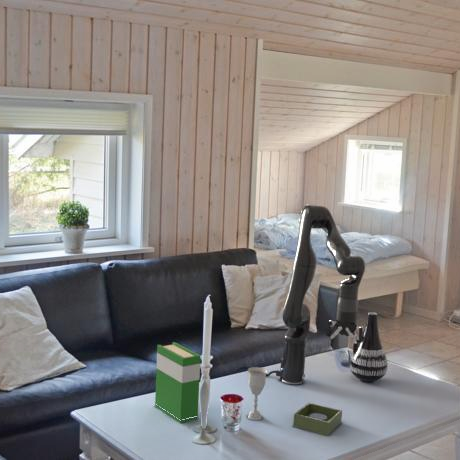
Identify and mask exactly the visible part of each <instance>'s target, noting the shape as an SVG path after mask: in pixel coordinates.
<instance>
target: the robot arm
mask: <svg viewBox="0 0 460 460" xmlns="http://www.w3.org/2000/svg"><path fill="white" fill-rule="evenodd" d="M312 229H314V230H315V229H317V230H319V229H322V230H323V231H324V232H325V234H326V236H325V246H326V248H327V250H328V252H329V253H330V255H331V256H332V258H333V260H334V264H335V267H336V271H337V273H339V274H340V275H341V276H349V277H348V279H345V280H342V281H341V282H340V283H339V292H338V298H337V299H338V300H337V304H336V318H335V319H336V321H334V320H333V319H330V320H328V322H327V327H326V331H325V332H326V333H325V335H326V337H329V338H330V348H331V349H335V348H336V344H337V343H336V342H337V338H336V337H337V336H338V335H340V336H346V337H349V338H350V339H351V340H352V342H353V345H352V354H353V353H356V352H357V351H358V346H359V343H362V342H363V341H364V329H365V326H364V325H361V326H359V325H357V319H358V308H359V288H360V285H361V282H362V280H363V276H364V275H365V271H366V262H365V260H364V258H363V257H362V256H359V255H351V254H352V250H351V248H350V246H349V244H347V242H346V241H345V239H344V238H343V236H342V235H341V233H340V232H339V228H338V227H337V224H336V222H335V219H334V218H333V215H332V214H331V211H330V210H329V209H328V207H326V206H325V205H324V206H323V205H312V204H305V205H304V206H303V207H302V209H301V211H300V216H299V226H298V236H297V243H296V249H295V255H294V259H293V264H292V271H291V277H290V281H289V288H288V292H287V296H286V299H285V303H284V307H283V310H282V321H283V323H284V325H285V326H286V327H287V328H288V329H287V331H286V332H285V334H284V336H283V351H282V352H283V353H282V358H281V359H280V368H278V369H277V370H271V371H269V373H268V372H267V373H266V377H270V376H271V375H272V374H275V376H276V377H279V381H280V382H282V383H284V384H286V385H291V386H292V385H293V386H297V385H298V386H299V385H302V384H303V383H304V382H305V378H306V373H305V369H306V368H305V366H306V351H307V339H308V337H309V333H310V325H311V310H310V308H309V306H308V305H307V304H306V303H304V300H305V297H306V294H307V292H308V290H309V288H310V286H311V285H312V282H313V280H314V278H315V275H316V269H317V264H318V260H317V255H316V252H315V250H314V247H313V245H312V242H311V236H312V235H311V234H312ZM333 327H335V329H336V330H335V331H334V332H333ZM356 330H357V332H358V334H357V333H356ZM249 368H251V367H250V366H245V365H244V366H239V367H236V368H235V372H236V371H239V370H243V369H245V370H248V369H249Z"/></svg>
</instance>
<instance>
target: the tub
mask: <svg viewBox="0 0 460 460" xmlns="http://www.w3.org/2000/svg"><path fill="white" fill-rule="evenodd" d="M313 413H321V414H324V415H326V416H327V421H323V420H319V419H315V418H311V417H310V414H313ZM342 419H343V410H342V409H338V408H333V407H329V406H325V405H320V404H317V403H312V402H307V403H306V404H305V405H303V406H302V407H301V408H300V409H298V410H297V411H296V412H295V413H293V424H292V425H293V427H294V428H297V429H301V430H305V431H309V432H313V433H317V434H320V435H324V436H329V435H330V434H331V433H332V432H334V431H335V429H336V428H337V427H339V426H340V425H341V424H342Z"/></svg>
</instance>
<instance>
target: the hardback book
mask: <svg viewBox="0 0 460 460" xmlns="http://www.w3.org/2000/svg"><path fill="white" fill-rule="evenodd" d="M201 356H202V355H200V354H198V353H197V352H195V351H194V350H191V349H189V348H187V347H185V346H183V345H182V344H179V343H177V342H175V341H173V342H172V344H168V345H161V344H157V345H156V373H155V395H154V396H155V399H154V400H155V401H154V407H155V408H156V409H158V410H159V411H160V412H162V413H164V414H165V415H167V416H168V417H170V418H172V419H173V420H174V421H176V422H177V423H179V424H183V423H188V422H190V421H196V420H198V418H199V402H200V401H199V397H200V379H201V377H200V375H201V359H202V358H201ZM156 404H157V405H158V406H157V405H156ZM159 406H160V407H161V408H160V407H159ZM162 408H163V409H165V410H166V411H165V410H163V409H162ZM167 411H168V412H169V413H168V412H167ZM170 413H171V414H173V415H174V416H175V417H174V416H173V415H171V414H170ZM194 416H198V417H194ZM176 417H177V418H178V419H177V418H176ZM189 417H194V418H189ZM186 418H189V419H186ZM179 419H180V420H181V421H180V420H179ZM182 419H185V420H182Z"/></svg>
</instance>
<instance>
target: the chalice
mask: <svg viewBox="0 0 460 460" xmlns="http://www.w3.org/2000/svg"><path fill="white" fill-rule="evenodd" d="M247 372H248V381H247V383H248V387H249V389H250V391H251V394H252V395H254V397H253V409H252V410H251V411H250V412H249V414H248V416H247V418H248V419H249V420H253V421H259V420H262V418H263V417H262V414H261V412H260V410H258V406H259V404H258V401H259V398H258V396H259V395H261V393H262V392H263V390H264V388H265V385H266V380H267V379H266V378H267V376H266V374H268V369H266V368H264V367H259V366H258V367H257V366H255V367H253V366H252V367H250V368H249V369H247Z"/></svg>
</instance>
